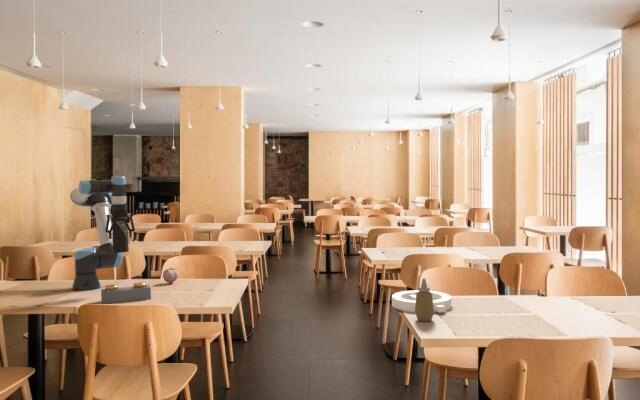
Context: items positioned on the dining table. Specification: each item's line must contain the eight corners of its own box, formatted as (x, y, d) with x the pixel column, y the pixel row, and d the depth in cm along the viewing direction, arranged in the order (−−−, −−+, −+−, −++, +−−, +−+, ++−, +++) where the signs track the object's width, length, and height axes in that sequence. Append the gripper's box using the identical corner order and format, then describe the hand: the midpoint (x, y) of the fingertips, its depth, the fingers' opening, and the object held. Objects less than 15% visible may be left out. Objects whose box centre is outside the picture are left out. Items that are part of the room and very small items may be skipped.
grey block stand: (101, 303, 275) (101, 292, 275) (101, 300, 283) (101, 289, 283) (150, 299, 285) (150, 287, 285) (149, 296, 292) (148, 285, 292)
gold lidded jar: (134, 298, 282) (133, 285, 282) (133, 296, 288) (132, 282, 288) (147, 297, 285) (146, 283, 285) (145, 295, 291) (145, 281, 291)
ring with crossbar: (444, 315, 241) (444, 305, 241) (384, 310, 253) (384, 300, 252) (456, 302, 266) (456, 292, 266) (401, 297, 278) (401, 288, 278)
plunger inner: (105, 301, 277) (105, 287, 277) (105, 299, 283) (104, 285, 282) (118, 300, 279) (118, 286, 279) (118, 297, 285) (117, 284, 285)
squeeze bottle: (419, 317, 238) (419, 276, 237) (437, 319, 233) (436, 278, 232) (411, 321, 231) (411, 279, 230) (429, 323, 226) (429, 281, 226)
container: (123, 253, 298) (122, 216, 297) (109, 252, 300) (107, 216, 299) (132, 250, 306) (131, 215, 305) (117, 250, 308) (116, 215, 307)
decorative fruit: (172, 281, 334) (171, 265, 334) (180, 282, 329) (180, 266, 329) (159, 284, 327) (159, 267, 326) (168, 285, 322) (167, 268, 321)
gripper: (99, 204, 294) (100, 246, 295) (139, 203, 303) (140, 243, 303) (98, 204, 301) (100, 244, 302) (138, 202, 309) (139, 242, 310)
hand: (120, 244), depth 303 cm, fingers closed on container, 8 cm apart
